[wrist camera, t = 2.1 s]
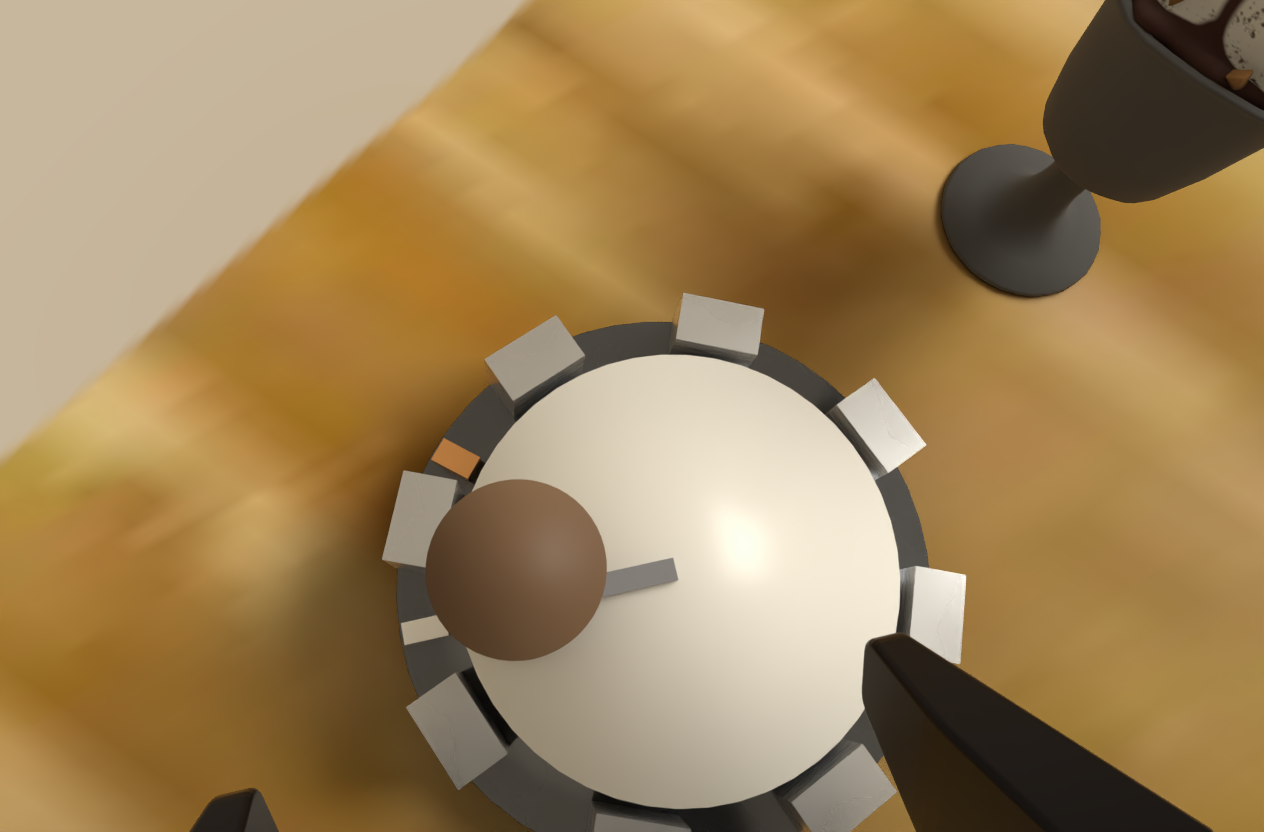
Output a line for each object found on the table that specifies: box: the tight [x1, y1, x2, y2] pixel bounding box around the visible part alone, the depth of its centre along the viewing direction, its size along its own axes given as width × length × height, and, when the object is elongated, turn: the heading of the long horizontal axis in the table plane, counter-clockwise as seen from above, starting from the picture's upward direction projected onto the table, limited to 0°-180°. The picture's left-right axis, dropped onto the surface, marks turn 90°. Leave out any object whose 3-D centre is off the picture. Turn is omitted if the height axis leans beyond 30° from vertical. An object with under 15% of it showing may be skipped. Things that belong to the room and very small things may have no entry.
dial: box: [425, 355, 900, 809], centre depth 17 cm, size 10×10×10 cm
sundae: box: [941, 0, 1264, 297], centre depth 20 cm, size 7×7×15 cm
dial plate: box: [382, 293, 966, 832], centre depth 22 cm, size 13×13×3 cm
